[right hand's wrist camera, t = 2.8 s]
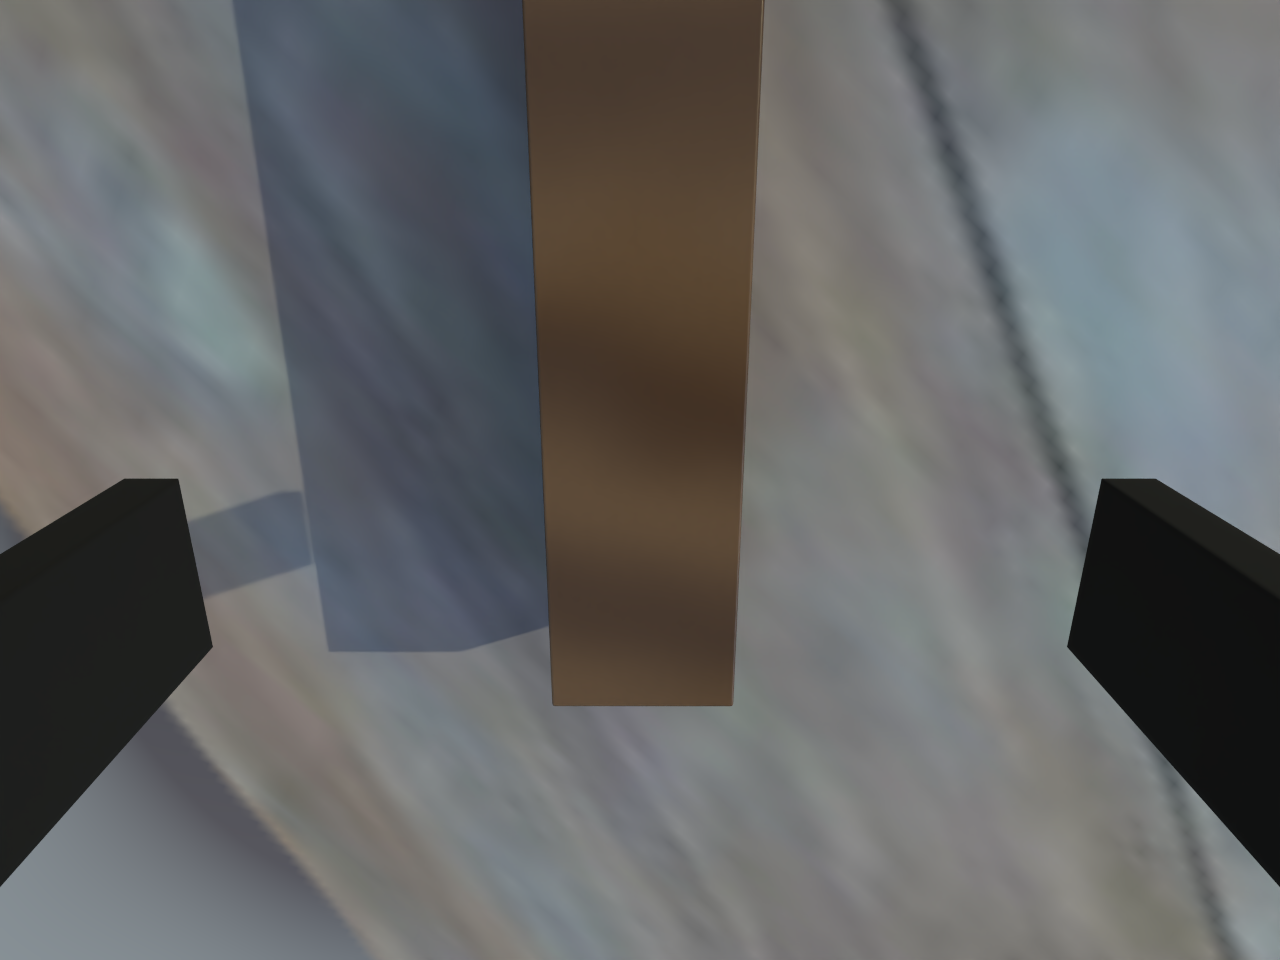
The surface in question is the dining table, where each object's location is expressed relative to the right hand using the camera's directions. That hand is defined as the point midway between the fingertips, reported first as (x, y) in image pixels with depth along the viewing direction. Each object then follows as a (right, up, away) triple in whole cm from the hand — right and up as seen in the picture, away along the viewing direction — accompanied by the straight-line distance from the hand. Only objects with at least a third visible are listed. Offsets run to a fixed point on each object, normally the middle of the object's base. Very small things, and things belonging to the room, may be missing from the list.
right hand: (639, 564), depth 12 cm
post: (0, +24, +7) cm, 25 cm away
